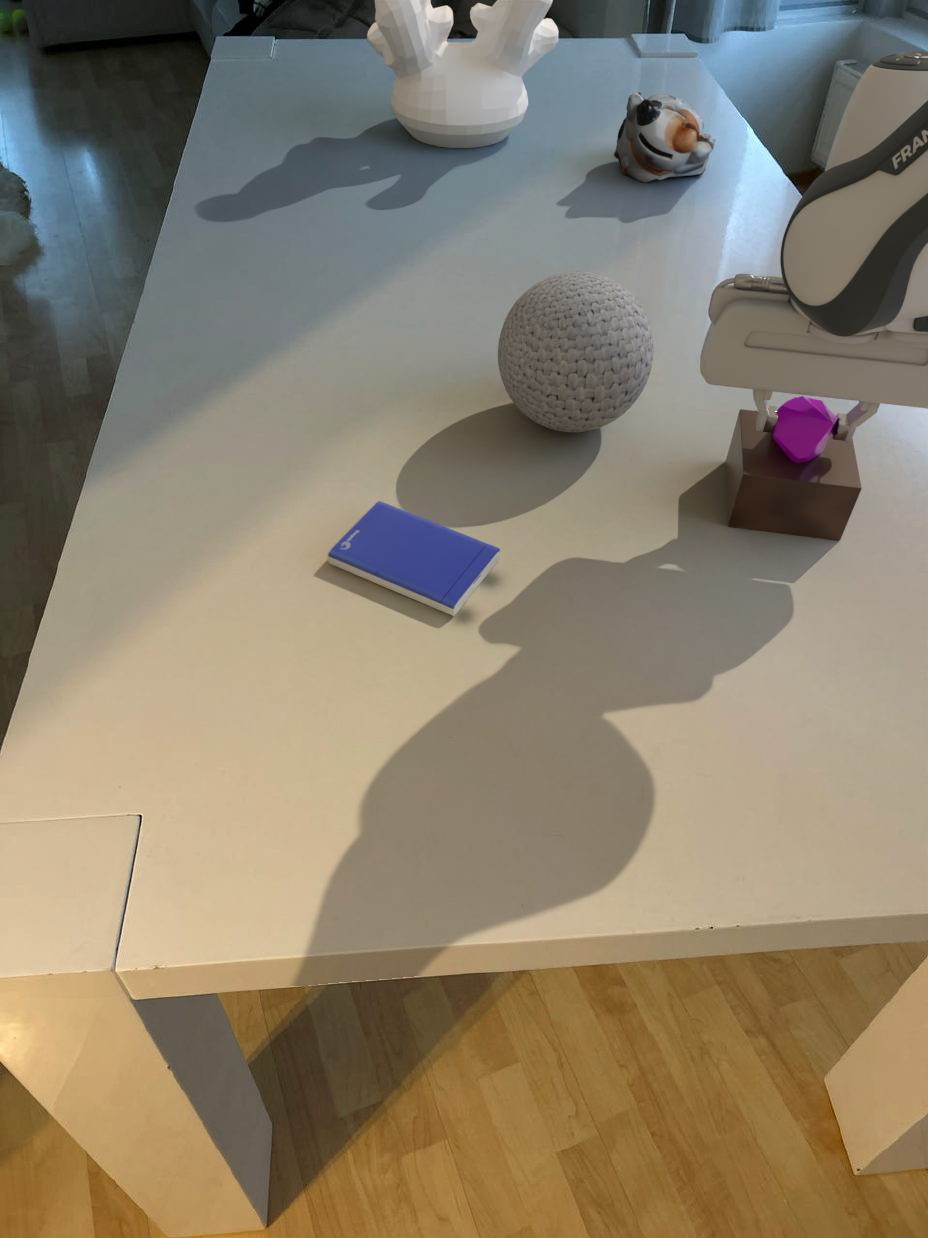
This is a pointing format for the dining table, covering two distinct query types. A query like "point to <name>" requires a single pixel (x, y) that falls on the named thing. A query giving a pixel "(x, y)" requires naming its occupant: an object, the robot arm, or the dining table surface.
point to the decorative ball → (575, 351)
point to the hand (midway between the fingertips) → (802, 432)
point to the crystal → (803, 428)
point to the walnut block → (789, 485)
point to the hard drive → (415, 557)
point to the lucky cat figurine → (662, 139)
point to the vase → (461, 67)
